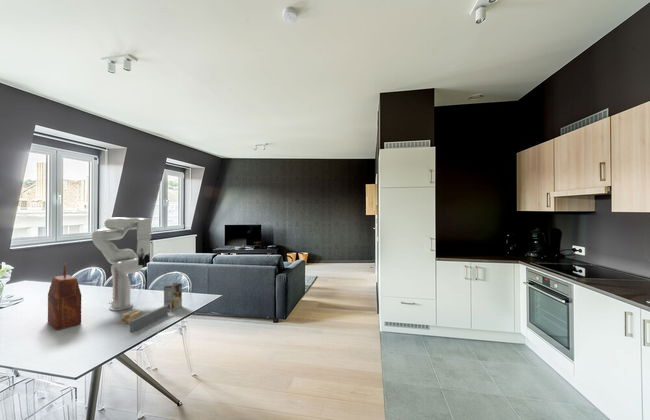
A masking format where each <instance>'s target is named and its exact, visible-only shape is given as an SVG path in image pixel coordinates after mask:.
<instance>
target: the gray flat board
mask: <svg viewBox="0 0 650 420" xmlns="http://www.w3.org/2000/svg"><path fill="white" fill-rule="evenodd" d="M168 315H169V311H168V305H164V304H163V305H162V306H161V307H158V308H155V309H153V310H151V311H148V312H147V313H144V314H142V316H140V317H138V318H135V319H133V320H131V321H130V324H129V328H130V329H129V332H130V333H134V332H136V331H139V330H140V329H142V328H145V327H146V326H148V325H150V324H152V323H154V322H157V321H158V320H160V319H162V318H164V317H166V316H168Z"/></svg>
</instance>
